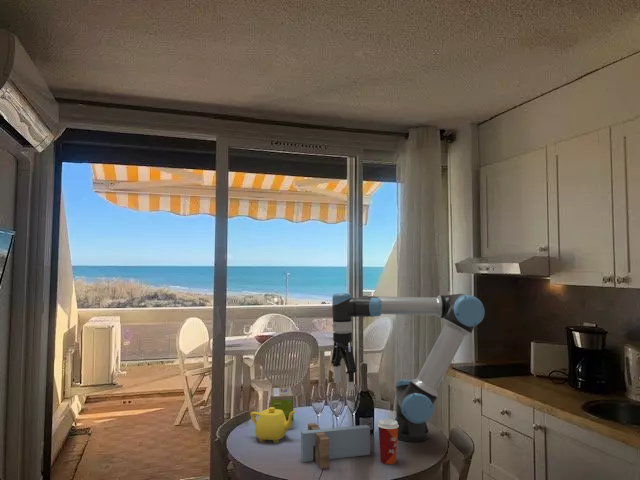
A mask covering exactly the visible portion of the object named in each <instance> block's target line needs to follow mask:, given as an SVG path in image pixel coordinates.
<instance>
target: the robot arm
mask: <svg viewBox="0 0 640 480" xmlns="http://www.w3.org/2000/svg"><path fill="white" fill-rule="evenodd" d="M331 301H332V303H331V306H332V307H331V308H332V325H331V326H332V331H333V334H332V336H333V337H332V339H333V340H332V342H333V349H332V355H331V361H330V362H331V364H332V366H333V383H334V384H339V383H342V378H341V373H342V372H341V370H342V369H341V366H342V365H341V362H342V359H343V362H344V365H345V368H346V372H345V374H346V391H348V392H349V391H353V390H354V391H355V373H357V371H358V370H357V366H356V362H355V356H354V351H353V349H354V348H353V346H352V345H350V346H349V343H352V342H353V333H352V331H353V323H352V322H353V321H352V318H353V317H354V318H356V317H358V318H359V317H361V318H362V317H363V318H365V317H366V318H370V317H371V318H375V317H380V316H381V315H399V316H400V315H401V316H405V315H406V316H436V317H437V318H439V319H443V322H444V326H443V327H442V330H441V332H440V334H439V335H438V338H437V339H436V341H435V342H434V344H433V346H432V349H431V351H430V353H429V354H428V356H427V358H426V360H425V362H424V364H423V365H422V368H421V369H420V371H419V373H418V375H417V377H416V378H414V379H413V378H412V379H410V378H409V379H408V378H403V379H402V378H401V379H398V380H397V381H396V382H395V391H396V392H395V396H396V397H395V400H396V401H395V405H396V409H395V410H396V414H395V419H394V420H395V421H397V422H398V425H399V427H398V437H397V440H399V441H403V442H411V443H417V442H424V441H427V440H428V439H430V430H429V428H428V425H427V421H429V420H430V419H431V417H432V416H433V413H434V405H435V403H436V401H437V399H438V396H439V395H438V392H437V390H438V388H439V386H440V384H441V382H442V380H443V378H444V377H445V374H446V373H447V371H448V369H449V368H450V365H451V363H452V361H453V360H454V358H455V356H456V354H457V352H458V351H459V348H460V347H461V345H462V342H463V341H464V339H465V337H466V336H469V335H471V334H472V332H473V331H474V330H475V327H476V326H477V325H479V324H480V323H481V322H482V321H483V319H484V318H485V307H484V304H483V302H482V301H481V300H480V299H479V298H477V297H476V296H474V295H471V294H466V293H456V294H446V295H445V294H444V295H443V294H442V295H441V294H439V295H438V296H436V297H432V296H431V297H428V296H426V297H425V296H415V297H414V296H372V295H371V296H369V295H360V296H359V297H352V294H351V293H348V292H346V293H345V292H342V293H341V292H339V293H334V294H333V295H332V300H331Z"/></svg>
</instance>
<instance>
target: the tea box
mask: <svg viewBox="0 0 640 480" xmlns="http://www.w3.org/2000/svg"><path fill="white" fill-rule="evenodd" d="M270 407H274V408H275V409H279V410H282V411H283V412H284V414H285V417H286V420H287V421H288V418H289V414H290V412H293V411H294V393H293V390H292V387H290V386H289V387H270ZM293 429H294V416H293V417H292V424H291V427H290V428H289V429H288V430H293Z"/></svg>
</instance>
